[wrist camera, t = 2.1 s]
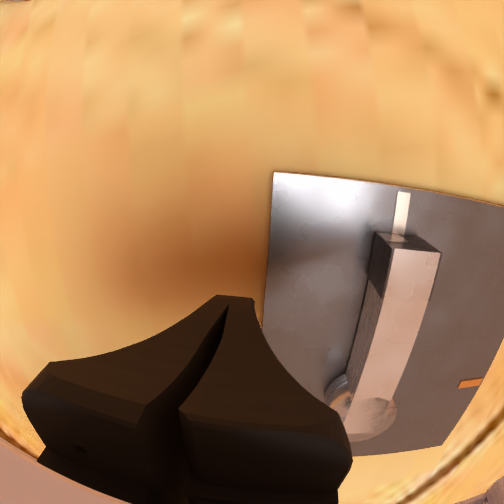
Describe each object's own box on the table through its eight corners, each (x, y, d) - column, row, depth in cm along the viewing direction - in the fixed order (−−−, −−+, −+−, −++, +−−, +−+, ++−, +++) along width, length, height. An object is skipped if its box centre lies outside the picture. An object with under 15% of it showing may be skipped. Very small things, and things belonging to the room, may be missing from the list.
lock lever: (376, 412, 15) (383, 439, 13) (318, 413, 16) (321, 442, 14) (433, 238, 12) (456, 254, 10) (359, 230, 12) (374, 246, 10)
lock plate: (251, 443, 19) (250, 455, 18) (274, 170, 13) (273, 172, 12) (438, 436, 18) (442, 446, 17) (529, 212, 12) (541, 217, 11)
